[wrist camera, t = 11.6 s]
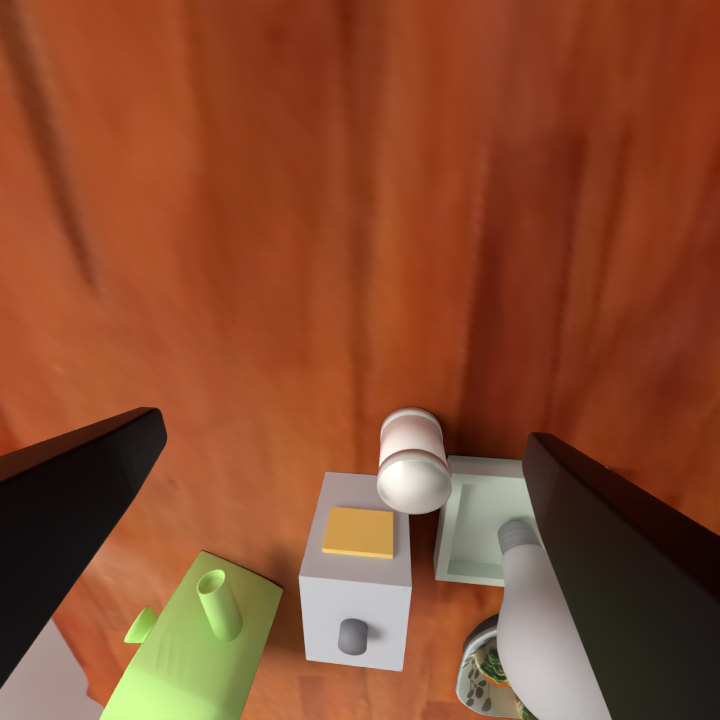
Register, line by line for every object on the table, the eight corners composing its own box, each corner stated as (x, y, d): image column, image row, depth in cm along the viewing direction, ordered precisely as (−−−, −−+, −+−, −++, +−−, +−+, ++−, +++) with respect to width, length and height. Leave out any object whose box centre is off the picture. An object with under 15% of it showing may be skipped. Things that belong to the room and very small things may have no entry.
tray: (607, 466, 23) (623, 485, 22) (567, 570, 28) (578, 594, 26) (448, 455, 24) (451, 473, 22) (432, 558, 28) (435, 579, 27)
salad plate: (603, 730, 37) (629, 797, 33) (437, 703, 38) (442, 764, 34) (688, 623, 29) (737, 692, 25) (476, 591, 30) (489, 654, 26)
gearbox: (204, 504, 29) (118, 624, 20) (306, 557, 30) (265, 694, 21) (147, 612, 36) (64, 737, 27) (232, 653, 37) (178, 788, 28)
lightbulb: (549, 553, 26) (643, 769, 16) (466, 550, 27) (509, 756, 17) (563, 493, 24) (686, 706, 14) (472, 492, 24) (526, 693, 14)
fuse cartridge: (442, 406, 23) (453, 459, 18) (440, 456, 24) (450, 515, 20) (379, 407, 23) (375, 458, 19) (382, 455, 25) (378, 513, 20)
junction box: (407, 474, 25) (413, 603, 17) (400, 555, 29) (402, 694, 20) (325, 468, 26) (293, 591, 17) (328, 548, 29) (302, 682, 21)
